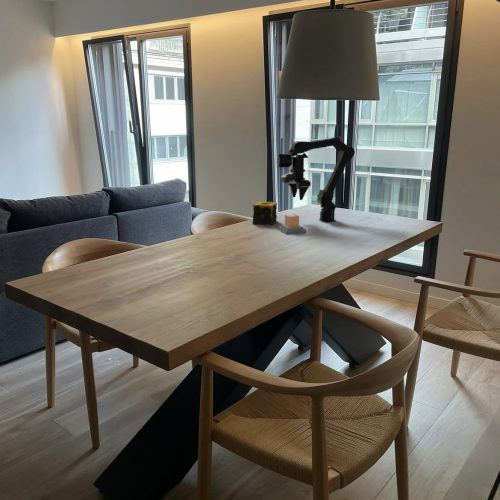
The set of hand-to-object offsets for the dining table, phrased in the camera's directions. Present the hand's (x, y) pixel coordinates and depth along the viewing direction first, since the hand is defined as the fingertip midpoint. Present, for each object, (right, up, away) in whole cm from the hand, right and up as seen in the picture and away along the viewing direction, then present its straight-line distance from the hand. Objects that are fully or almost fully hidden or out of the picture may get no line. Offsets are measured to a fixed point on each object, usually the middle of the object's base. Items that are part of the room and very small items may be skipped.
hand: (297, 198), depth 246 cm
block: (-4, -14, -17) cm, 23 cm away
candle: (-16, -12, +2) cm, 21 cm away
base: (-4, -17, -16) cm, 24 cm away
